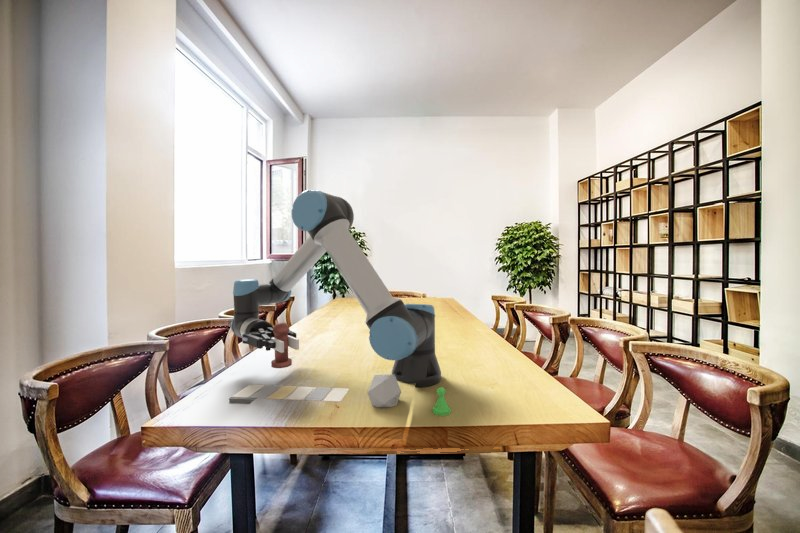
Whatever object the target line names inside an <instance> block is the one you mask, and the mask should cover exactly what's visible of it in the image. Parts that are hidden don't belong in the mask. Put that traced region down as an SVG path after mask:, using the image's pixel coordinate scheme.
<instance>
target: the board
mask: <svg viewBox="0 0 800 533" xmlns="http://www.w3.org/2000/svg"><path fill="white" fill-rule="evenodd" d="M349 391H350V388H347V387H346V388H341V387H321V386H320V387H319V386H317V387H315V386H297V385H296V386H294V385H293V386H291V385H290V386H289V385H272V384H252V383H251V384H249V385H247V386H246V387H244V388H242V389H241V390H239V391H238V392H236V393H235V394H233V395H231V397H229V398H228V403H237V404H239V403H240V404H251V403H253V402H254V401H255V400H257V399H269V400H270V399H271V400H292V401H314V402H315V401H317V402H319V401H320V402H321V401H322V402H335V403H338V402H342V400H343V399H344V397H346V395H347V393H348V392H349Z"/></svg>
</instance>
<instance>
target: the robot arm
mask: <svg viewBox="0 0 800 533" xmlns="http://www.w3.org/2000/svg"><path fill="white" fill-rule="evenodd" d="M354 216H355V215H354V210H353V208H352V206H351V204H350V203H349V202H348V201H347V199H344V198H342V197H340V196H336V195H333V194H330V193H326V192H324V191H321V190H316V189H307V190H304V191H302V192H300V193H299V194H298V195H297V196H296V197H295V199H294V201H293V204H292V209H291V219H292V223H293V224H294V225H295V227H296V228H297V229H300V230H301V231H303V232H307V233H308V235H309V237H308V238H307V239H306V240H305V241H304V242H303V243H302V244H301V245H300V247H299V248H298V249H297V250H296V251H295V253H294V254H293V255H292V256H291V257H290V258H289V259H288V261H287V262H285V264H284V265H283V266H282V267H281V268H280V269H279V271H278V272H277V273H276V274H275V275H274V277H272V278H271V280H270V281H269V282H267V283H259V280H258V279H254V278H253V279H252V278H246V279H236V280H235V281H234V282H233V292H232V295H233V317H232V320H231V322H230V330H231V331H232V333H233V334H234V335H235V336H236V337H238V338H241V339H242V344H243V345H244V344H245V345H249V346H251V347H254V348H256V349H260V350H261V349H263V347H265V351H266V352H268V351H271V350H272V349H273V350H274V351H275V350H276V351H278V352H280V353H283V352H284V342H283V341H281V340H279V339H276V338H275V335H274V333H273V327H274V326H273V325H272V324H271V323H270V322H269V321H266V320H265V319H264V320H263V319H260V318H259V317H260V314H259V313H260V307H261V306H262V307H263V306H267V305H272V304H280V303H283V302H286V301H288V300H289V299H290V298H291V295H292V289H293V288H294V287H295V286H296V285H297V283H298V282H300V281H301V280H302V278H303V277H304V276H305V275H306V274H307V273H308V272H309V271H310V270H311V269H312V268H313V266H314V265H316V263H317V262H319V260H320V259H321V257H323V256H324V254H326V253H327V254H328V256H329V257H330V259H331V261H332V262H333V264H334V265H335V267H336V268H337V270H338V272H339V274H341V276H342V278H343V280H344V281H345V283H346V284H347V285H348V287H349V289H350V290H351V292H352V293H353V295H354V296H355V298H356V300H357V302H358V303H359V304H360V306H361V308H362V310H364V312H365V314H366V318H365V325H366V326H367V327H368V330H369V337H368V340H369V344H370V347H371V349H372V350H373V352H375V353H376V354H377V355H378V356H379V357H380V358H382V359H385V360H388V361H394V364H393V367H392V370H391V375H393V374H395V377H396V379H397V382H401V383H405V384H414V387H415V388H422V387H423V388H424V387H429V386H430V387H431V386H433V385H437V384H438V383H440V382H441V380H442V370H441V367H440V365H439V362H438V358H437V355H436V320H435V319H436V313H435V307H434V305H432V304H428V303H427V304H426V303H425V304H423V303H404V301H403V300H402V299H401V298H396V297H394V296H393V295H392V294H391V292H390V291H389V289H388V288H387V286H386V284H385V283H384V282H383V280H382V279H381V277H380V276H379V274H378V272H377V271H376V270H375V268H374V267H373V264H371V261H369V259H368V258H367V256H366V255H365V253H364V252H363V250H362V248H361V247H360V245H359V244H358V243H357V241H356V239H355V238H354V236H353V235H352V233H351V232H350V230H351V228H352V225H354V224H353V223H354V219H355V218H354ZM288 348H291V349H294V350H296V351H298V350H299V349H300V339H299V338H297V333H296V332H294V331H292V330H290V329H289V333H288Z"/></svg>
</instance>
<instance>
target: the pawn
mask: <svg viewBox="0 0 800 533" xmlns="http://www.w3.org/2000/svg"><path fill="white" fill-rule="evenodd" d="M272 327H273V333H274V335H275V338H276V339H279V340H281V341H283V342H284V352H283V353H280V352H278V351H276V350H274V359H273V360H271V363H270V364H271V368H273V369H285V368H288V367H291V366H292V364H293V363H292V362H293V360H292V358H290V357H289V346H288V333H289V330H290V326H289V325H288V323H286V322H284V321H280V322H277V323H275V325H273V326H272Z"/></svg>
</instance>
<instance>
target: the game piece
mask: <svg viewBox="0 0 800 533" xmlns="http://www.w3.org/2000/svg"><path fill="white" fill-rule="evenodd" d="M446 393H447V392H446V389H445V388H444V387H443V386H440V387H438V388H436V394H437V395H438V397H437V400H436V403H435V405H434V406H433V407H432V408H431V409H432V412H433V415H436V416H448V415H449V414H450V413H451V408H450V407H449V406H448V403H447V401H446V398H445V395H446Z"/></svg>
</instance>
